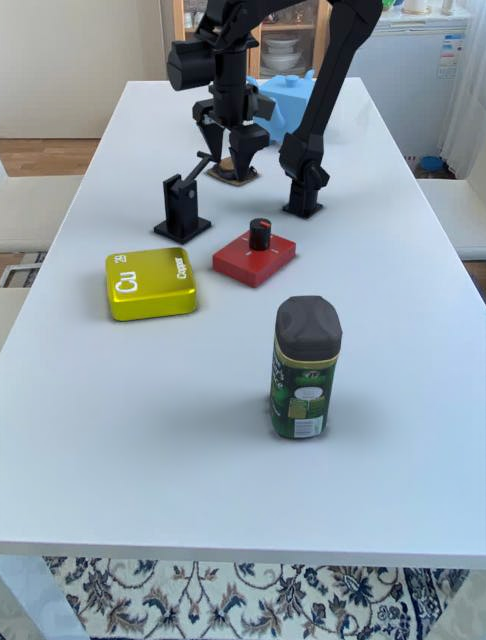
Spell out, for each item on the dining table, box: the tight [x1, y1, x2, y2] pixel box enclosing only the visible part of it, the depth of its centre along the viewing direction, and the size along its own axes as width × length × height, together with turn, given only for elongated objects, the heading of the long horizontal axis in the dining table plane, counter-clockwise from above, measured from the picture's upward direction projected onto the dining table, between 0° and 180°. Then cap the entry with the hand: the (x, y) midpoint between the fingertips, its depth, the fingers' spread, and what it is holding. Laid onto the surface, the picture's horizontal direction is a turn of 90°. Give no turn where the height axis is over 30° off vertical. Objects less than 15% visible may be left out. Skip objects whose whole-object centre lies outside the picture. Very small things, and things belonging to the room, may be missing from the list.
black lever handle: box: [170, 150, 221, 200], centre depth 111 cm, size 12×6×2 cm, turn 140°
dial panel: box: [211, 229, 297, 289], centre depth 106 cm, size 13×10×3 cm
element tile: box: [104, 246, 198, 322], centre depth 100 cm, size 15×15×5 cm
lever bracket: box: [152, 173, 212, 246], centre depth 112 cm, size 9×8×10 cm
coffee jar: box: [269, 295, 344, 439], centre depth 74 cm, size 10×8×19 cm
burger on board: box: [206, 156, 260, 187], centre depth 131 cm, size 11×8×4 cm
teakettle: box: [246, 69, 316, 145], centre depth 140 cm, size 19×19×15 cm
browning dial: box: [248, 217, 273, 251], centre depth 104 cm, size 4×4×5 cm
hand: (229, 171), depth 106 cm, fingers open, 9 cm apart
